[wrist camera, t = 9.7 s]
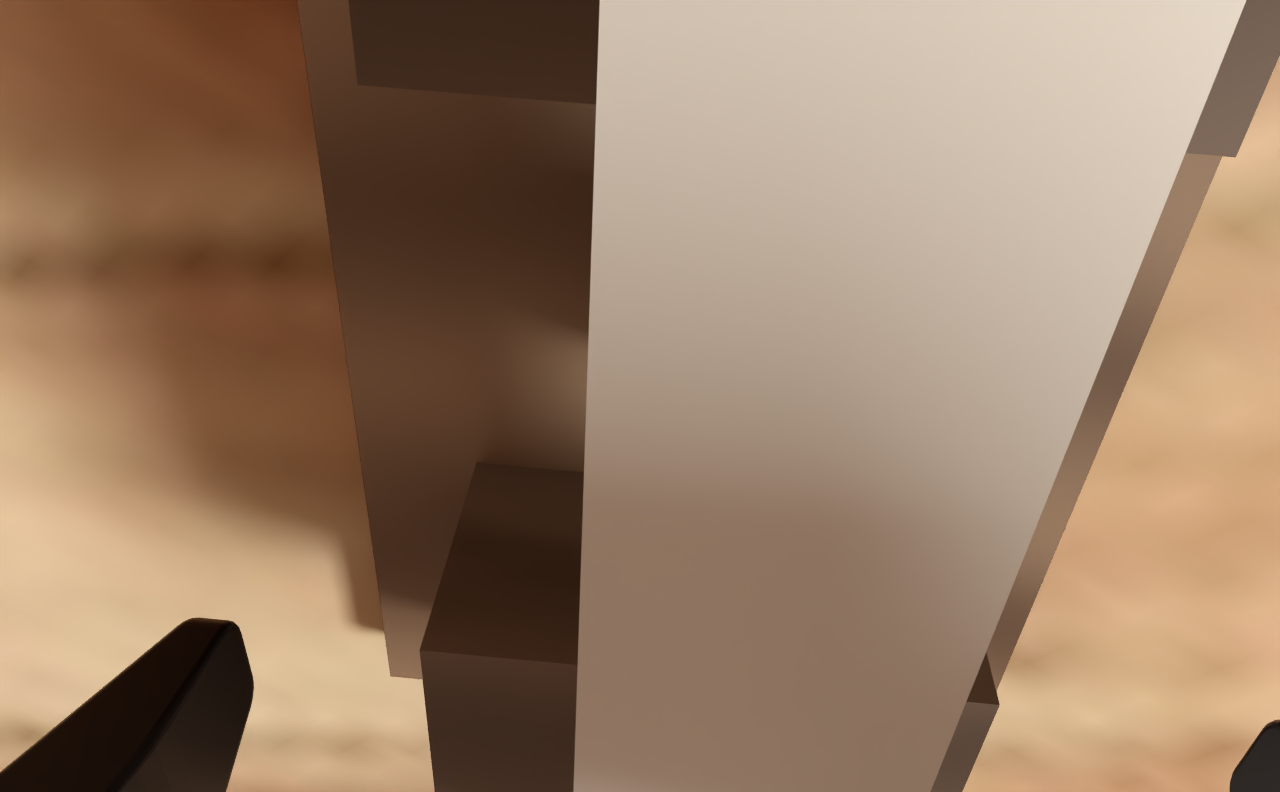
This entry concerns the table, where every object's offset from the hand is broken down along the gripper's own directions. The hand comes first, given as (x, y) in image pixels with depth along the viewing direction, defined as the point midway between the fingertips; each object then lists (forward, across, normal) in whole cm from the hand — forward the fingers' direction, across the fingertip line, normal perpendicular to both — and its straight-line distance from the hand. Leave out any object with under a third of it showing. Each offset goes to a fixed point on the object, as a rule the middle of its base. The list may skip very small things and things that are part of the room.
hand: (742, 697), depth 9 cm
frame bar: (+3, 0, 0) cm, 3 cm away
